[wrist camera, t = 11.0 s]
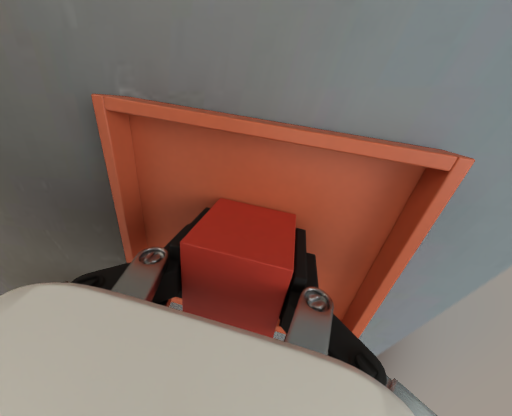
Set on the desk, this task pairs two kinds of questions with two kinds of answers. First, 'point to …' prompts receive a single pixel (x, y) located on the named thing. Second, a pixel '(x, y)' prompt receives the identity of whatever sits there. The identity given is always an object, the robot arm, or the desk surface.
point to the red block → (238, 265)
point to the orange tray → (278, 189)
